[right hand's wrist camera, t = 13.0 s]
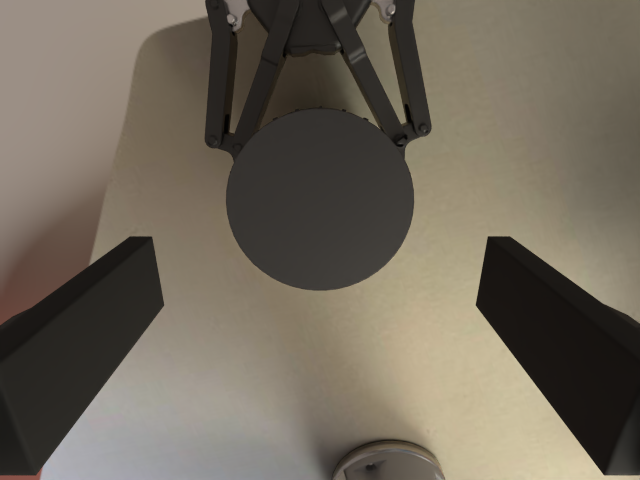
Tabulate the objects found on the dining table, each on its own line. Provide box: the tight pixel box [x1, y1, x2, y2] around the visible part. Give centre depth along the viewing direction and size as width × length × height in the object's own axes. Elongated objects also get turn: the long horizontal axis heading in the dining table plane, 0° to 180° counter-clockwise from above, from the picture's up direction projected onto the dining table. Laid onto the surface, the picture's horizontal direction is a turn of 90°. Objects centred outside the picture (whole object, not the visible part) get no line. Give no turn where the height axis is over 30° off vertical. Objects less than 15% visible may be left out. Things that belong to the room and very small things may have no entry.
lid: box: [226, 106, 414, 290], centre depth 21 cm, size 11×11×2 cm
